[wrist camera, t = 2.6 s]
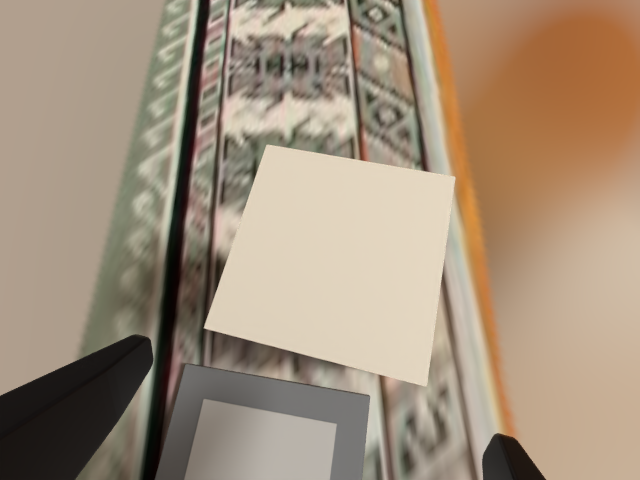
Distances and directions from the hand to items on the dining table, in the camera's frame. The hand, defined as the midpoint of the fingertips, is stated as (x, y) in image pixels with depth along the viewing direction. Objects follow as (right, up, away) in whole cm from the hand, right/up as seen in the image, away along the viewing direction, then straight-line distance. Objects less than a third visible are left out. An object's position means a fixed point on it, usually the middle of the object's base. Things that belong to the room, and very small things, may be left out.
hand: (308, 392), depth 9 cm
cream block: (+2, 0, +11) cm, 11 cm away
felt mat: (-3, -8, +8) cm, 12 cm away
